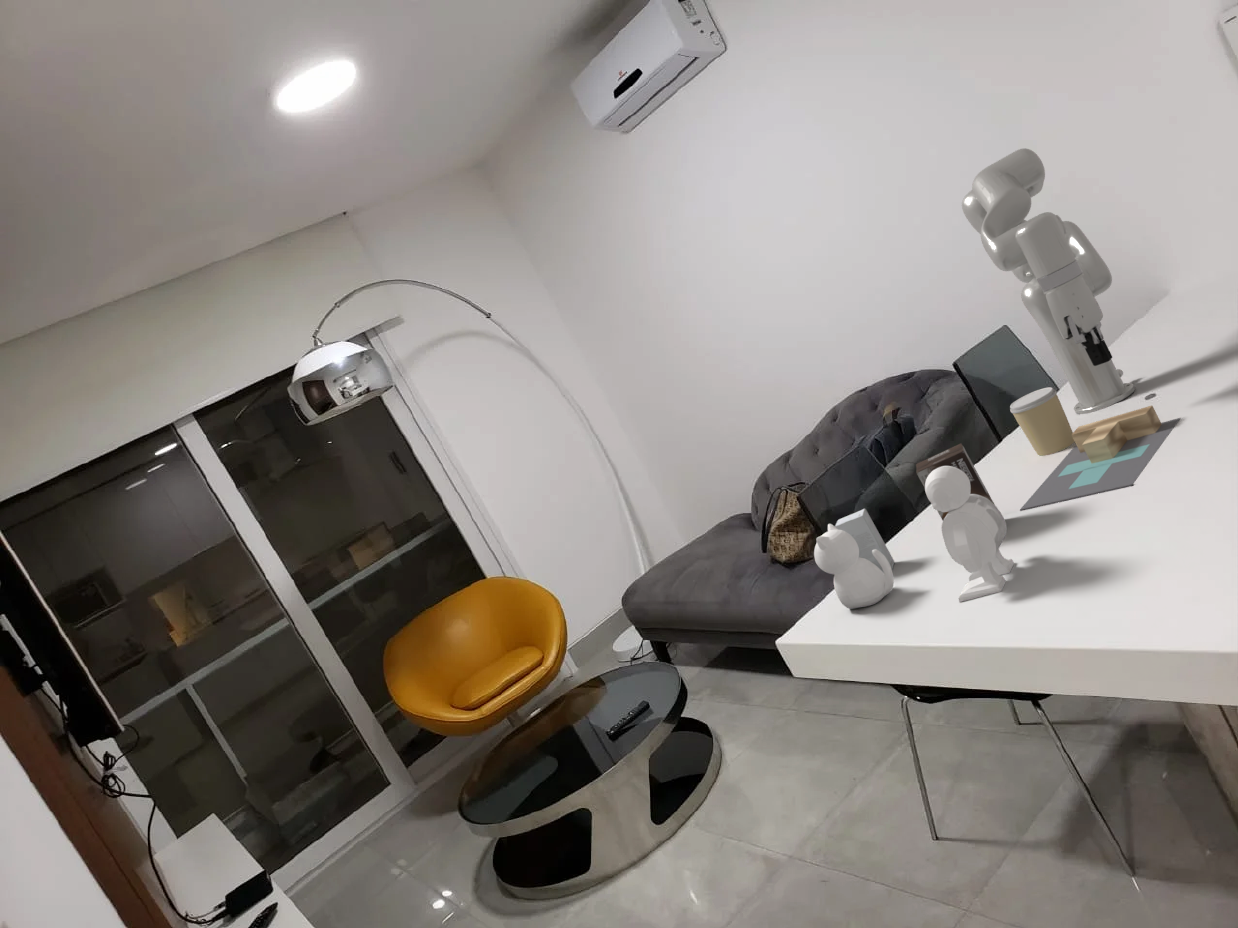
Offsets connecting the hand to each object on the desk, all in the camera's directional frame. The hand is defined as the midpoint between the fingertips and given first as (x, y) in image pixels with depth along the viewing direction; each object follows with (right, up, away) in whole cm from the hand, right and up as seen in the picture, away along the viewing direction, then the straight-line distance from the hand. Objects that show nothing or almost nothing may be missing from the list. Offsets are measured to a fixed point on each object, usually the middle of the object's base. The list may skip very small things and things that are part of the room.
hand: (1103, 362), depth 171 cm
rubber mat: (-6, -20, -10) cm, 23 cm away
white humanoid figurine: (-35, -38, -33) cm, 61 cm away
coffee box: (-28, -33, -11) cm, 45 cm away
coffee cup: (-3, -17, +12) cm, 21 cm away
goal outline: (-8, -21, -12) cm, 25 cm away
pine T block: (-1, -17, -6) cm, 18 cm away
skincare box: (-44, -40, -2) cm, 60 cm away
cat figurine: (-48, -44, -14) cm, 67 cm away
